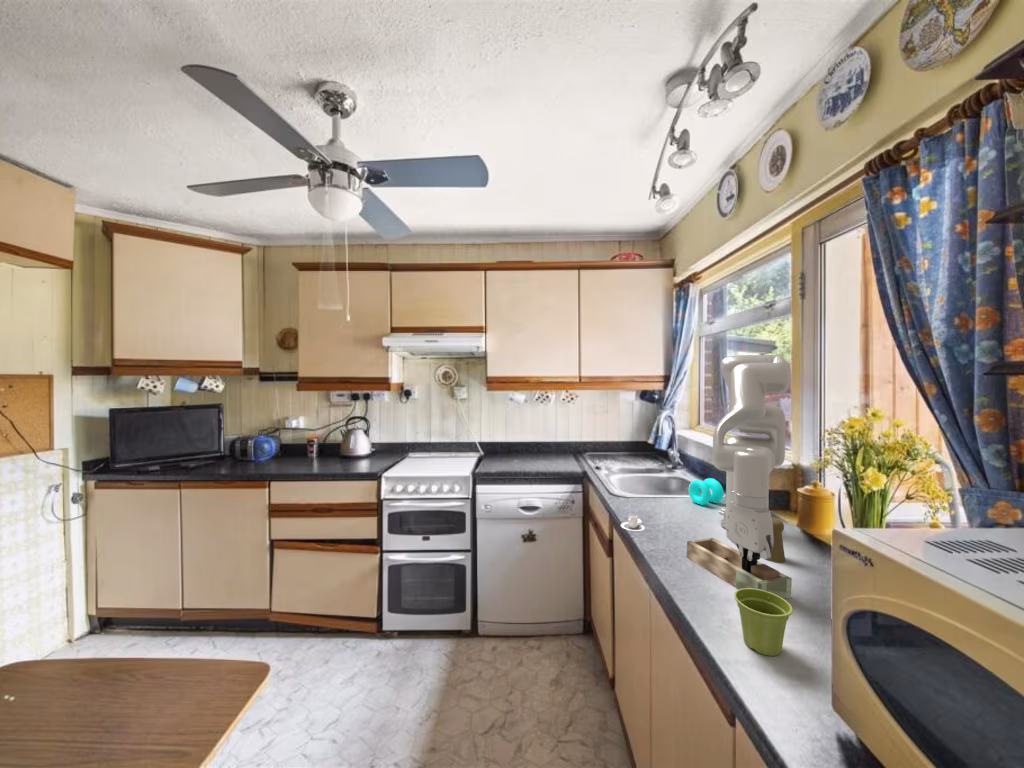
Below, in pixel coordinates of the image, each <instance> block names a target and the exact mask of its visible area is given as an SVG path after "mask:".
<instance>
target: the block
mask: <svg viewBox="0 0 1024 768" xmlns="http://www.w3.org/2000/svg"><path fill="white" fill-rule="evenodd" d="M779 572H780V571H779V570H778V569H775V568H773V567H771V566H769V565H768V564H765V563H763V564H759V565H753V566H751V574H752V575H754V576H755V577H757V578H759V579H761V580H763V581H764V580H769V579H775V578H779Z"/></svg>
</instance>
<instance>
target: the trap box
mask: <svg viewBox="0 0 1024 768" xmlns="http://www.w3.org/2000/svg"><path fill="white" fill-rule="evenodd" d="M686 557H687V558H688V559H690V560H691V561H693V562H694V563H695V564H697V565H699V566H701V567H702V568H703V569H705V570H706V571H709V572H711V573H712V574H713V575H715V576H717V577H719V578H720V579H721V580H723V581H725V582H727V583H728V584H729V585H732V586H733V587H734V588H736V589H737V590H739V589H743V588H753V589H760V590H764V591H767V592H770V593H773V594H775V595H778V596H780V597H781V598H783V599H784V600H786V599H790V598H792V583H793V582H792V581H793V580H792V577H790V576H788V575H786V574H784V573H782V572H780V571H779V578H775V579H769V580H764V581H763V580H761V579H759V578H757V577H755V576H754V575H752V574H750V573H748V572H746V571H745V570H743V569H742V557H741V556H740V554H739V550H738V549H735V548H733V547H732V546H729V545H727V544H725V543H723V542H721V541H720V540H719V539H718V540H717V539H716V538H714V537H707V538H703V539H701V538H700V539H694V540H687V541H686ZM759 564H764V563H762V562H761V561H759V560H757V565H759Z"/></svg>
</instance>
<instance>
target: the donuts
mask: <svg viewBox="0 0 1024 768" xmlns="http://www.w3.org/2000/svg"><path fill="white" fill-rule="evenodd" d="M687 489H688V490H687V491H688V495H689V497H690V499H691V501H692V502H693V503H695V504H696V503H697V504H696V505H698V504H700V505H699V506H705V505H707V504H708V503H711V502H713V503H712V504H718V503H720V502H721V501H722V500H723V498H724V494H725V493H724V488H723V486H722V484H721V483H720V481H718V480H716V479H715V478H712V477H711V478H710V477H708V478H705V479H704V480H701V479H694V480H692V481H691V482H690V483H689V484H688V488H687ZM710 489H711V490H710ZM700 491H701V492H700ZM709 501H710V502H709Z"/></svg>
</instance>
